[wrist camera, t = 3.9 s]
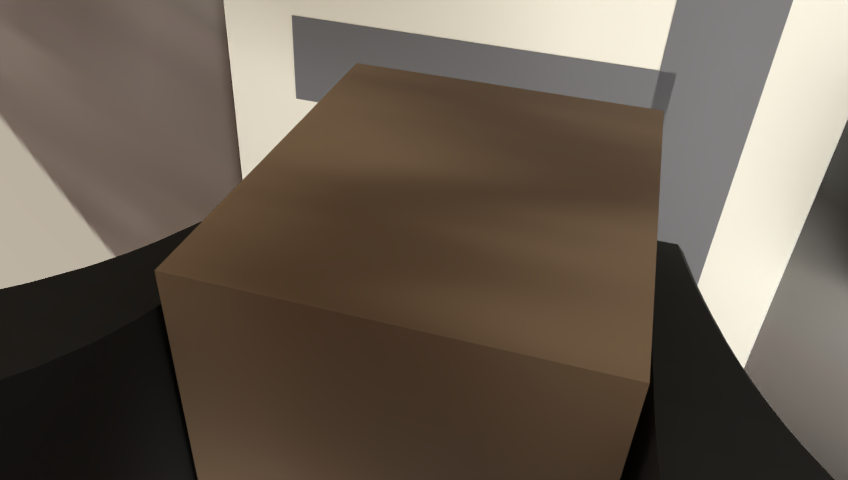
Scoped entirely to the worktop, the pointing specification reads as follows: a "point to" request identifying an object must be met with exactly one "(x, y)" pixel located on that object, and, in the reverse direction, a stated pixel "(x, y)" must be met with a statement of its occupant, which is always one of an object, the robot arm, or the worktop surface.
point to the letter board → (604, 81)
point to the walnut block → (424, 289)
